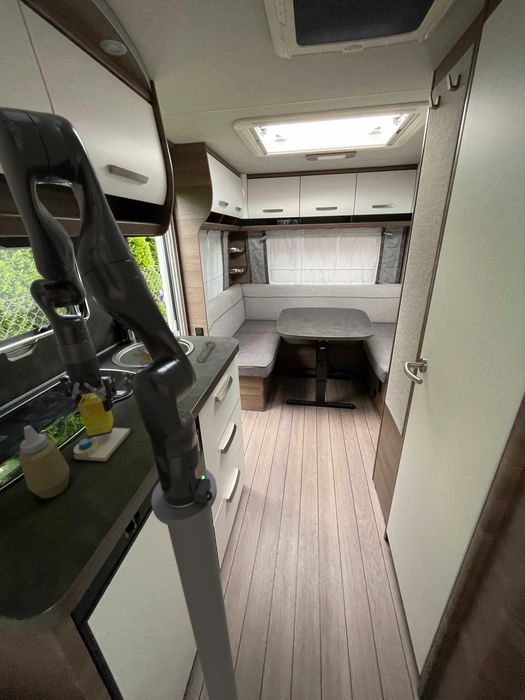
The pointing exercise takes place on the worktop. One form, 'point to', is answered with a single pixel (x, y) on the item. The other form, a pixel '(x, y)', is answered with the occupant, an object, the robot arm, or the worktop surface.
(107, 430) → the supplement box
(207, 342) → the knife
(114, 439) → the scale
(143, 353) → the flower vase
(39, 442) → the squeeze bottle
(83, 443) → the button
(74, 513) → the worktop surface
